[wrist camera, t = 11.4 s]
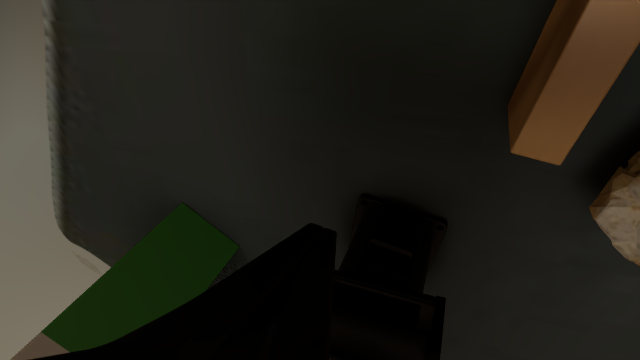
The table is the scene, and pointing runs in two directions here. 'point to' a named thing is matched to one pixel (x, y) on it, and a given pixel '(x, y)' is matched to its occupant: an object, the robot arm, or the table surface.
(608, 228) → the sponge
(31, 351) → the hardback book
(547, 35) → the back rail
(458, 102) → the table surface
